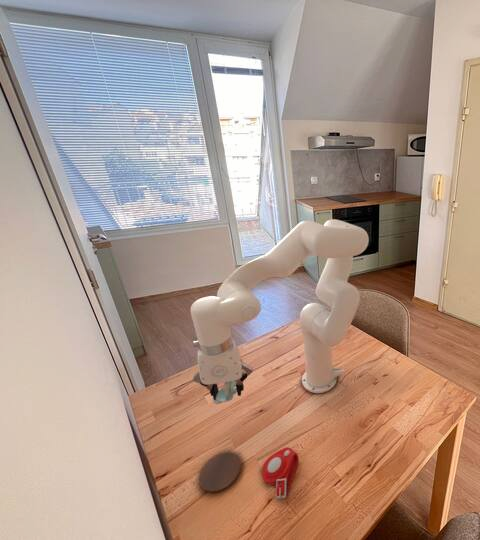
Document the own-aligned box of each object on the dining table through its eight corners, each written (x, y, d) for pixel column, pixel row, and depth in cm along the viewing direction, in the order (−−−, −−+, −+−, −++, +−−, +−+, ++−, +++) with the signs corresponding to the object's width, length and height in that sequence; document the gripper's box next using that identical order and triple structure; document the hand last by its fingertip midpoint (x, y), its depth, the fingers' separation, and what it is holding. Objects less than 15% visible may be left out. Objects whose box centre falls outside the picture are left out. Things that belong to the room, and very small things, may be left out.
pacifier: (208, 405, 80) (229, 408, 79) (203, 388, 77) (224, 391, 77) (222, 385, 86) (242, 387, 86) (218, 368, 84) (238, 370, 83)
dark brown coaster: (242, 450, 83) (242, 448, 83) (239, 487, 75) (238, 485, 74) (204, 458, 81) (203, 456, 81) (195, 498, 72) (195, 496, 72)
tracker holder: (252, 470, 77) (282, 438, 83) (260, 479, 79) (288, 447, 85) (276, 499, 69) (307, 461, 75) (284, 508, 71) (314, 470, 77)
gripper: (174, 357, 70) (191, 410, 78) (250, 347, 74) (259, 399, 81) (183, 338, 76) (198, 389, 84) (252, 329, 80) (261, 379, 88)
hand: (228, 393), depth 83 cm, fingers closed on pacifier, 5 cm apart
